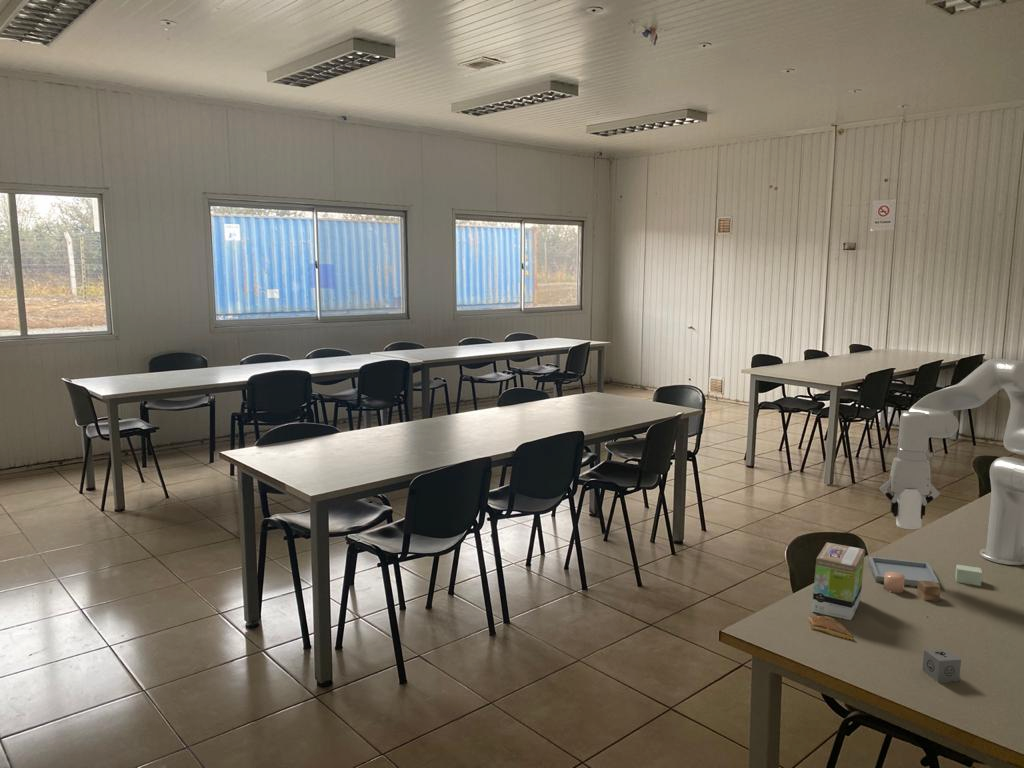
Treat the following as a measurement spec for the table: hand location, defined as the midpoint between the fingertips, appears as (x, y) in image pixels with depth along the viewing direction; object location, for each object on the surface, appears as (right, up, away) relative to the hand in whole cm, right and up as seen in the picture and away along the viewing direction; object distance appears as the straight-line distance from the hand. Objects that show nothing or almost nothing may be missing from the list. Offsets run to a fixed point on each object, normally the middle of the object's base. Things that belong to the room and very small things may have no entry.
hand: (907, 515), depth 219 cm
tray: (0, -18, +2) cm, 18 cm away
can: (+1, -3, 0) cm, 4 cm away
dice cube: (-20, -26, -53) cm, 63 cm away
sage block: (+16, -18, -2) cm, 25 cm away
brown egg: (-8, -19, -8) cm, 22 cm away
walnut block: (-1, -20, -13) cm, 24 cm away
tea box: (-28, -21, -19) cm, 40 cm away
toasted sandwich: (-34, -23, -31) cm, 52 cm away
